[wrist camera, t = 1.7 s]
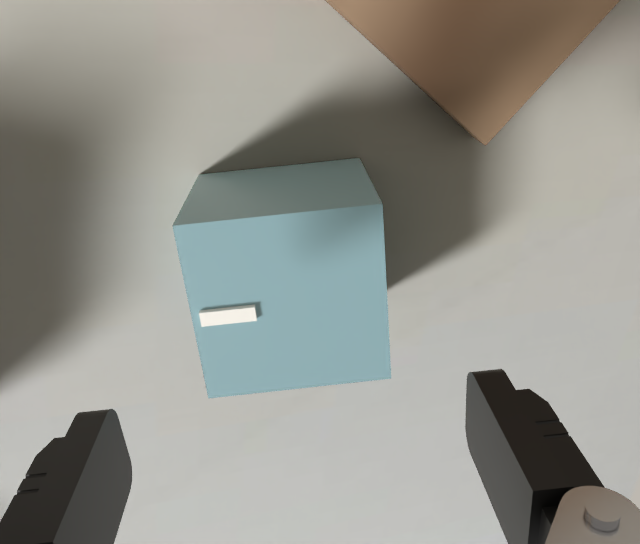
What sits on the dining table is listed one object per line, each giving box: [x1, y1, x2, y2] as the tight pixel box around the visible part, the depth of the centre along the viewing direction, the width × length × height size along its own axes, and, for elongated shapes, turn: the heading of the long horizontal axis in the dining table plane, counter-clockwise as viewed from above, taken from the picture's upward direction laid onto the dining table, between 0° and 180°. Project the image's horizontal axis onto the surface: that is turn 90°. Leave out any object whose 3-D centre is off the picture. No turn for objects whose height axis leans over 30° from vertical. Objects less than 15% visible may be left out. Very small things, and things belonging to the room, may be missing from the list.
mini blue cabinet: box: [173, 158, 391, 398], centre depth 22 cm, size 6×6×6 cm
